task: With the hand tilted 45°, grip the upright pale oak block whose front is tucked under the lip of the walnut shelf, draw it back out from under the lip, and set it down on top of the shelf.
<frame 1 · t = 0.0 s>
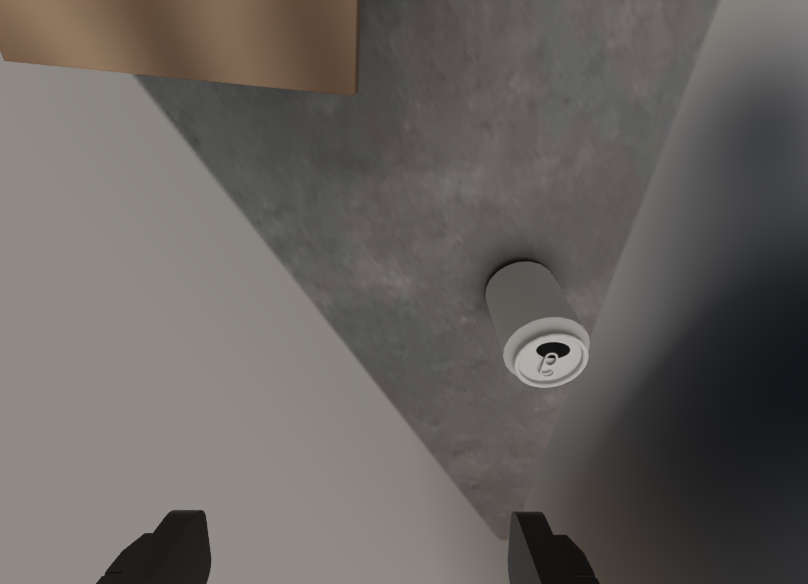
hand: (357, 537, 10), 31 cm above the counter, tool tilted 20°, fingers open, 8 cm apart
can: (517, 286, 44), on the counter
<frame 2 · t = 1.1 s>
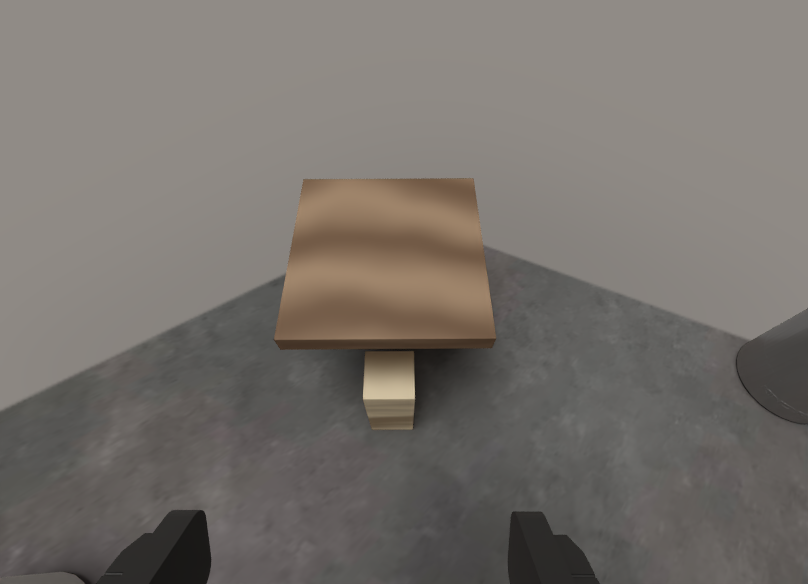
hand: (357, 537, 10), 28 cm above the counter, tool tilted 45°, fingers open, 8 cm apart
oak block: (392, 409, 40), on the counter
walnut shelf: (393, 347, 44), on the counter
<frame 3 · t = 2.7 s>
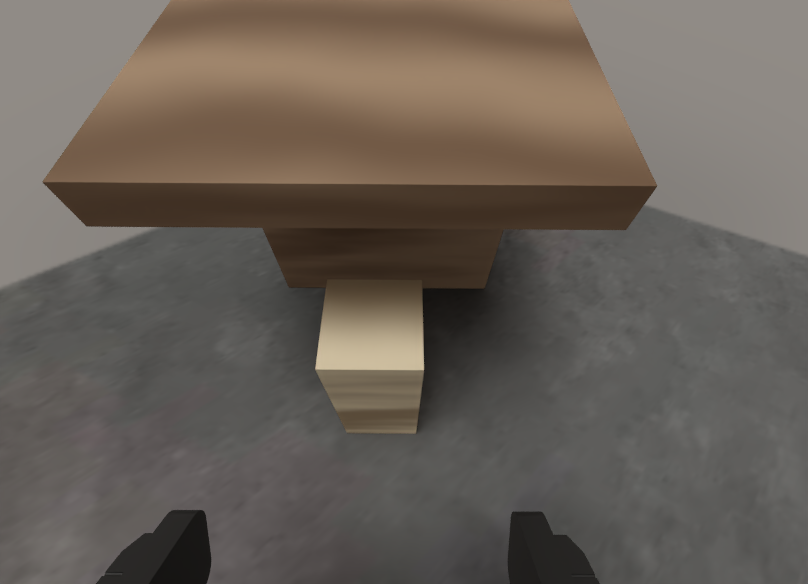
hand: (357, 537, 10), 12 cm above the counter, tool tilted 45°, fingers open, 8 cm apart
oak block: (382, 399, 24), on the counter
walnut shelf: (386, 302, 28), on the counter
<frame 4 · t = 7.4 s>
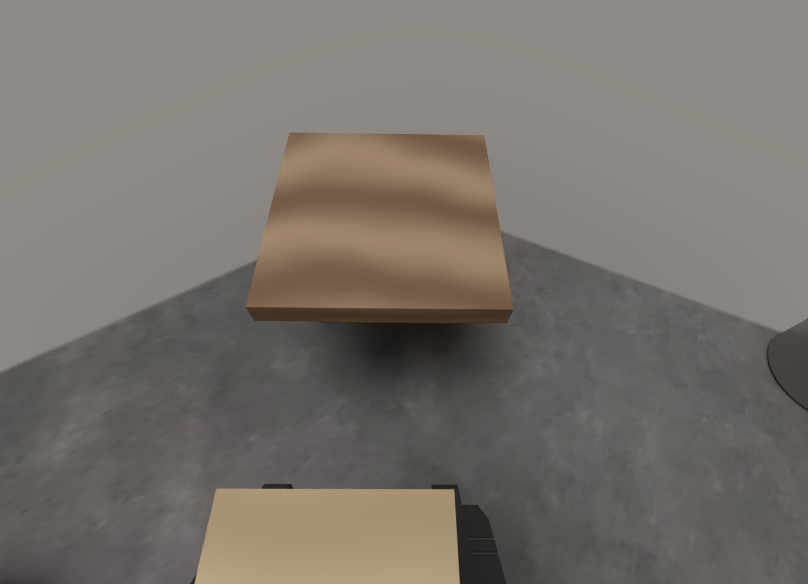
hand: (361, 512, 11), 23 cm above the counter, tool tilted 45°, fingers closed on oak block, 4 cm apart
oak block: (370, 583, 14), point 18 cm above the counter, touching gripper
walnut shelf: (389, 333, 39), on the counter
when the fingers open (23 cm above the counter, at t = 10.3 s): oak block drops 1 cm, resting on walnut shelf.
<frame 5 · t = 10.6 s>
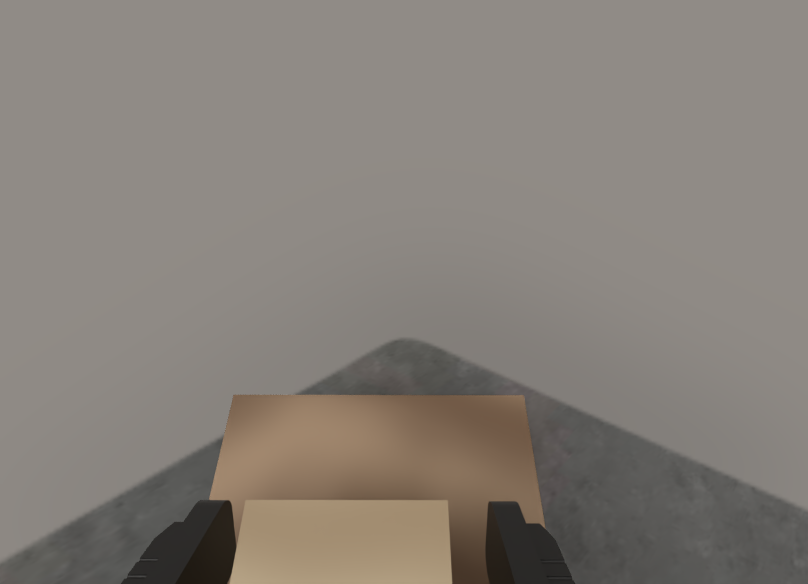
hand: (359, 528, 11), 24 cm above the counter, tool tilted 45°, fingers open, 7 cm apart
oak block: (373, 581, 15), point 17 cm above the counter, touching walnut shelf
walnut shelf: (387, 561, 30), on the counter
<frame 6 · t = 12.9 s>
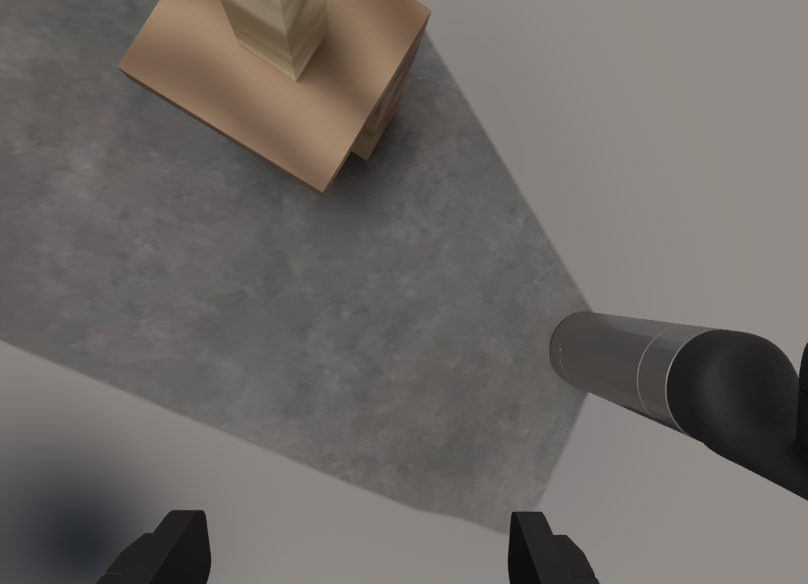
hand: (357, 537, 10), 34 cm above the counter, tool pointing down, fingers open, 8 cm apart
oak block: (284, 38, 25), point 17 cm above the counter, touching walnut shelf
walnut shelf: (304, 134, 43), on the counter
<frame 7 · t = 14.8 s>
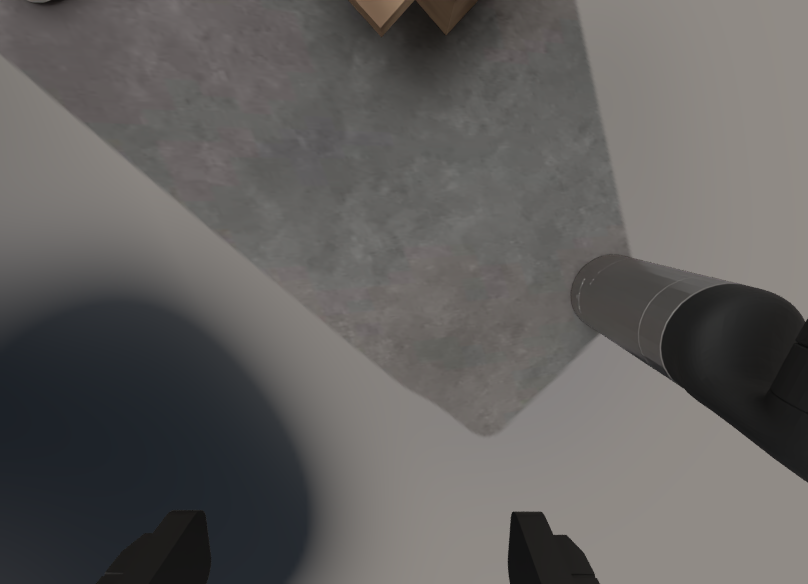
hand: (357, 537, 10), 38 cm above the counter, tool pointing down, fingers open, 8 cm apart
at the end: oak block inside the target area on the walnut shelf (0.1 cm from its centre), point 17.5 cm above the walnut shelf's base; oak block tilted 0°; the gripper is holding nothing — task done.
